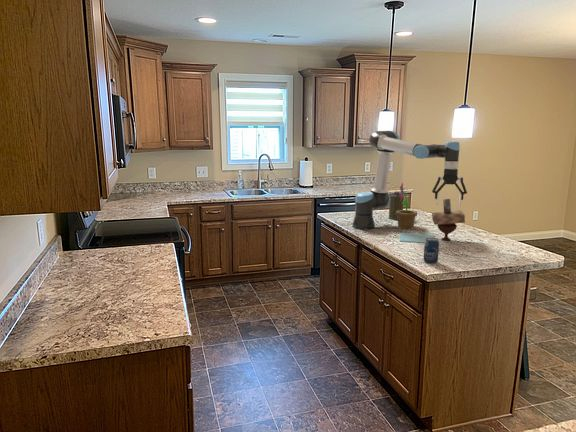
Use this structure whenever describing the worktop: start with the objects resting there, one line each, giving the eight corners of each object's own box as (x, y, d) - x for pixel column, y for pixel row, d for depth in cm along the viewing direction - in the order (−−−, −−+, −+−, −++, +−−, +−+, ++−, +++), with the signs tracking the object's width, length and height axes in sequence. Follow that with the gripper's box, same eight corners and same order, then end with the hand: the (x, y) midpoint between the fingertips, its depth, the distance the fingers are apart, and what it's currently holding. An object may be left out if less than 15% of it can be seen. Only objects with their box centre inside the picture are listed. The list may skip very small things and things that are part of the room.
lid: (434, 224, 252) (432, 202, 250) (432, 220, 267) (430, 199, 266) (465, 222, 247) (463, 199, 246) (461, 218, 263) (459, 196, 262)
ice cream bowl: (452, 237, 265) (454, 213, 262) (457, 242, 254) (459, 217, 251) (434, 237, 266) (436, 213, 263) (439, 242, 255) (440, 217, 252)
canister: (391, 216, 329) (392, 190, 325) (404, 218, 323) (406, 191, 319) (385, 218, 320) (387, 192, 316) (399, 220, 314) (400, 193, 310)
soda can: (424, 263, 215) (425, 240, 212) (422, 259, 221) (424, 237, 219) (438, 264, 213) (440, 241, 211) (436, 260, 220) (438, 237, 218)
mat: (399, 241, 257) (399, 240, 257) (399, 233, 276) (399, 232, 276) (435, 243, 252) (435, 242, 252) (432, 235, 271) (432, 234, 271)
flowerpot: (397, 223, 304) (399, 181, 298) (418, 225, 298) (420, 182, 292) (392, 227, 292) (395, 183, 286) (414, 229, 286) (417, 184, 280)
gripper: (429, 168, 251) (427, 205, 255) (474, 169, 245) (471, 206, 249) (428, 167, 258) (426, 203, 262) (472, 168, 252) (469, 204, 256)
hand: (448, 205), depth 256 cm, fingers open, 12 cm apart
